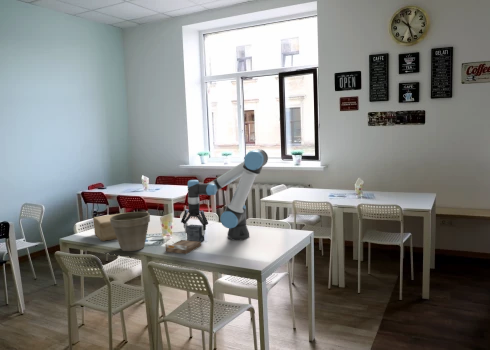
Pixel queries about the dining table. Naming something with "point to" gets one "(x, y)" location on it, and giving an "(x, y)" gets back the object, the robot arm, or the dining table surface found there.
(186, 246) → the brown wooden slab
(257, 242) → the dining table surface
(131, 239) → the plant pot
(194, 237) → the small box
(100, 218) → the paper package
